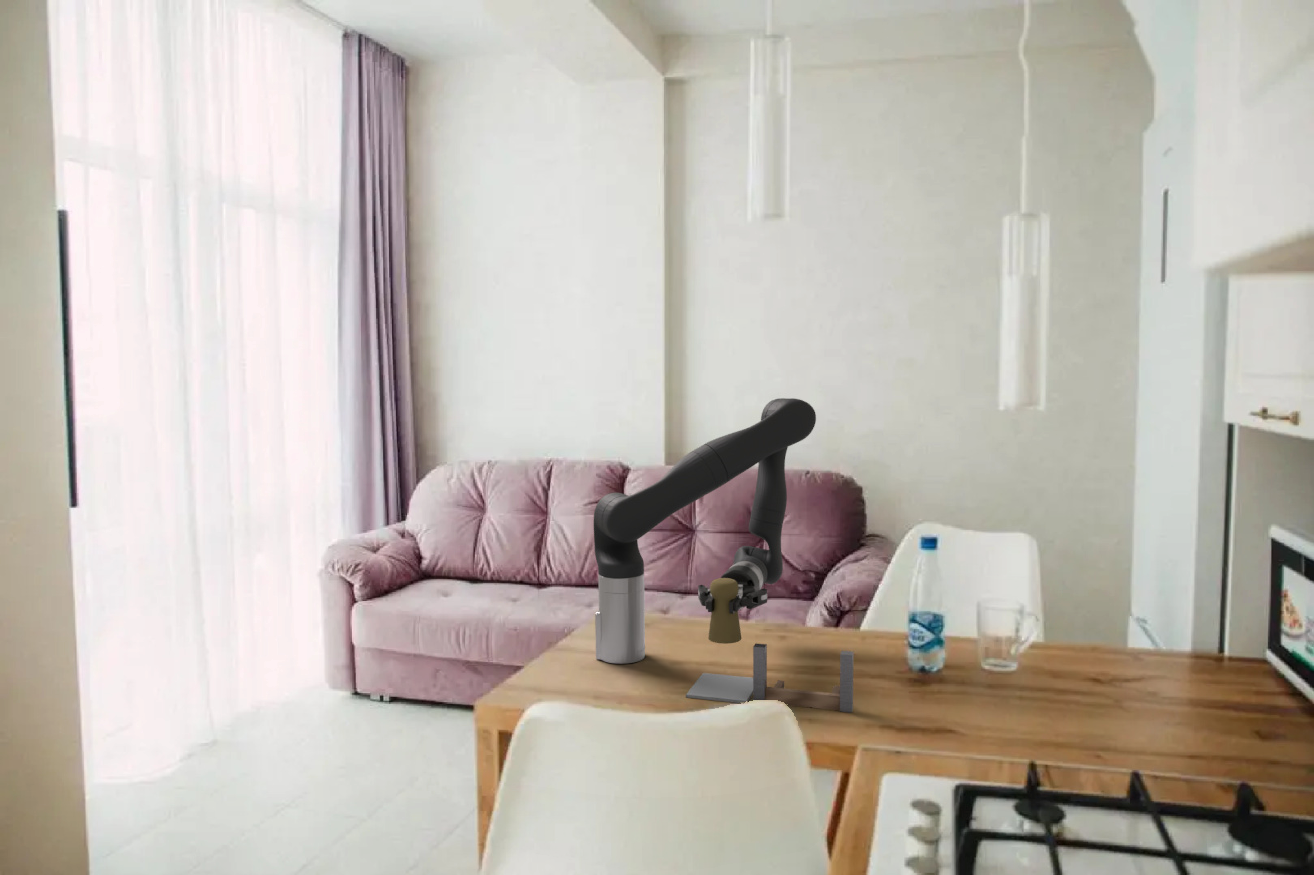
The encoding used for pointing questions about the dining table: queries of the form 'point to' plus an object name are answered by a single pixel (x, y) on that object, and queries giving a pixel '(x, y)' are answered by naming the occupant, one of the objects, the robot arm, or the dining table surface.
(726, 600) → the cork
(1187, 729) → the dining table surface
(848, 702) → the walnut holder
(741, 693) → the grey rubber mat
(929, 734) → the dining table surface
